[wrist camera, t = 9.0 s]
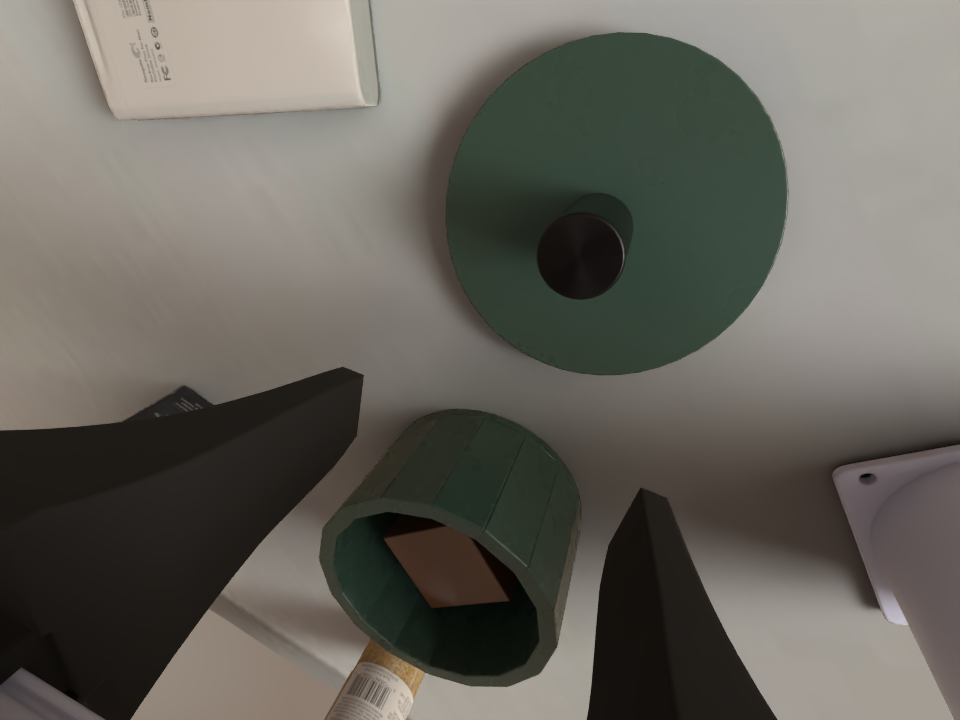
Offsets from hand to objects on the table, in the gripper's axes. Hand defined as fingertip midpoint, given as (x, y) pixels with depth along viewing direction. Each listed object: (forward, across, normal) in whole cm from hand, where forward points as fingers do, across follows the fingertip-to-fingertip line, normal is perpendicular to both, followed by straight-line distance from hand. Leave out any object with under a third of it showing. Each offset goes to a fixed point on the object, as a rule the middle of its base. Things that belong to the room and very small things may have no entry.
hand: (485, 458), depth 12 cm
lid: (+8, 0, -4) cm, 10 cm away
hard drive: (+9, +16, -8) cm, 20 cm away
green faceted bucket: (+9, +1, +10) cm, 14 cm away
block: (+9, +1, +10) cm, 14 cm away
